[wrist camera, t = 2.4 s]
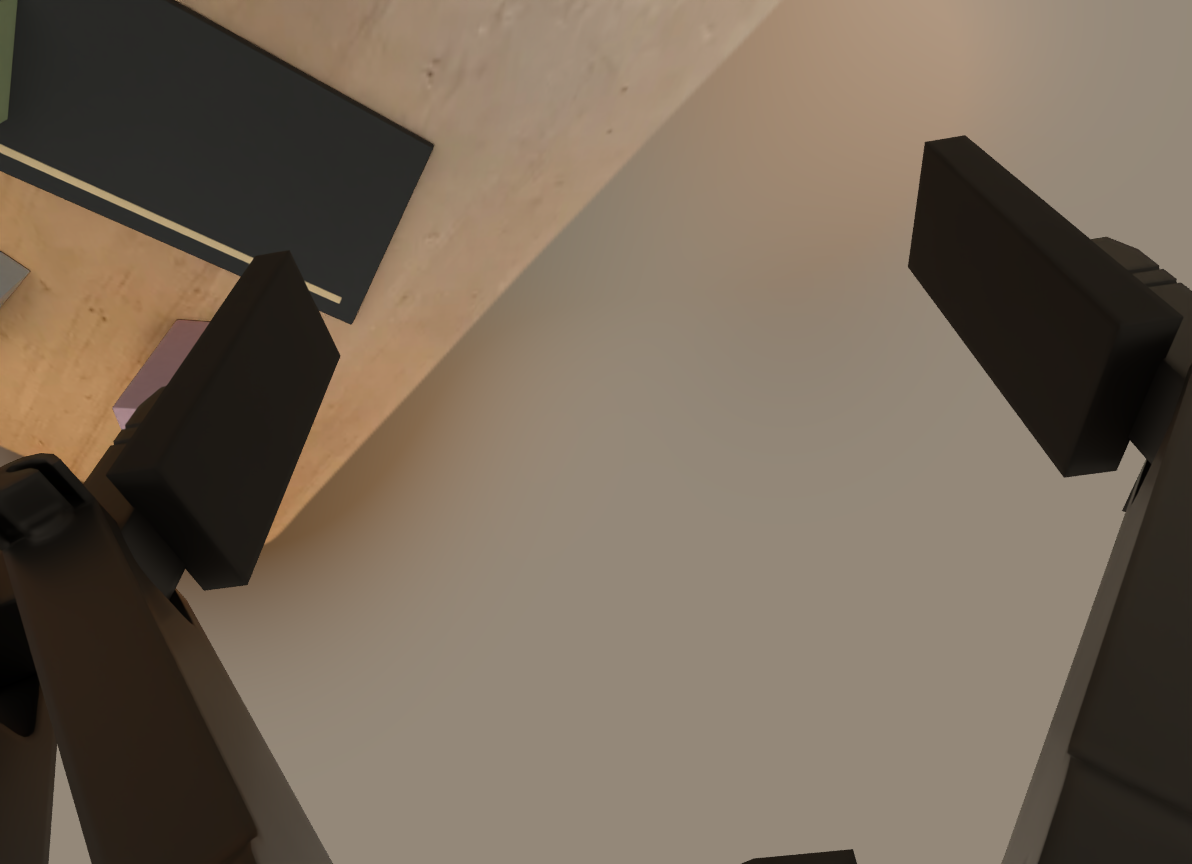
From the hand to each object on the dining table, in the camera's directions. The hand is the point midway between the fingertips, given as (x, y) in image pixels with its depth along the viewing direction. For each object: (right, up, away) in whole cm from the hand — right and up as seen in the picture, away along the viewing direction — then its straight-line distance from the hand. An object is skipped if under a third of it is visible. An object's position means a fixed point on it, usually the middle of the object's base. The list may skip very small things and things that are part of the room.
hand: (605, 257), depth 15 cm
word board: (-20, +10, +17) cm, 28 cm away
